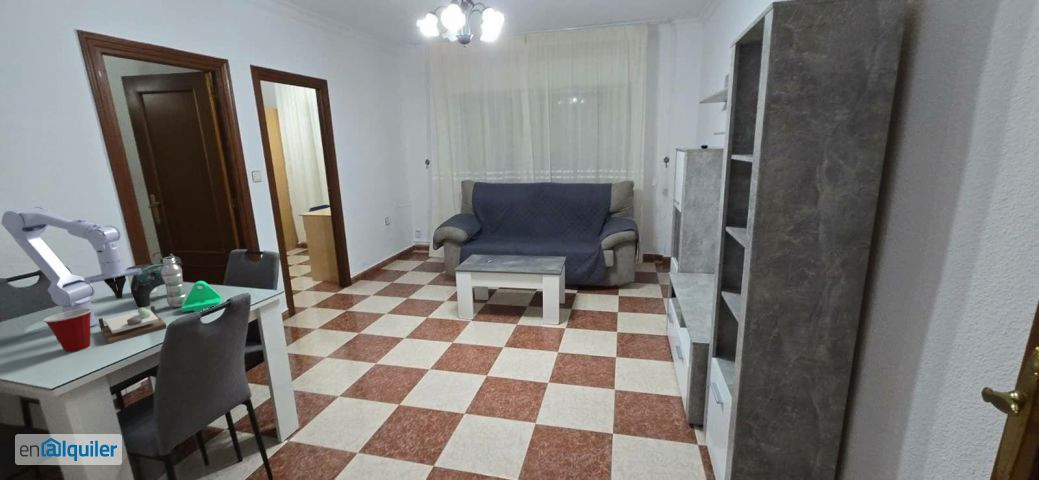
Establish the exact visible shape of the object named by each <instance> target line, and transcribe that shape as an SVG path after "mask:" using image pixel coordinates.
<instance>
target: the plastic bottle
mask: <svg viewBox="0 0 1039 480" xmlns="http://www.w3.org/2000/svg"><path fill="white" fill-rule="evenodd" d="M168 257H169V256H168ZM175 257H176V256H175ZM175 257H169V258H165V257H163V258H164V259H163V264H164V267H163V268H162V270H161V275H162V278H163V280H164V283H165V284H164V285H165V288H166V289H165V290H166V296H167V297H166V301H167V302H166V303H167V305H168V306H169V307H170V308H179V307H182V306H183V304H184V302H185V301H186V299H187V297H188V294H187V292H186V289H185V286H184V279H183V269H182V266H181V267H180V266H178V265H177V264H176V263H175V262H176V261H175Z"/></svg>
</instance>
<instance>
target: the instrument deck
mask: <svg viewBox="0 0 1039 480" xmlns="http://www.w3.org/2000/svg"><path fill="white" fill-rule="evenodd" d="M104 322H105V324H106V326H107V325H108V327H109V329H110V330H111V332H112V333H116V332H120V331H124V330H128V329H132V328H136V327H139V326H143V325H147V324H151V323H155V322H159V319H158V318H157V317H156V316H155V314H154V313H153V312H152V311H151V308H148V309H147V308H146V307H144V308H143V307H142V308H138V310H137V311H136V312H131V313H128V314H127V313H126V314H122V315H119V316H115V317H110V318H105V319H104Z"/></svg>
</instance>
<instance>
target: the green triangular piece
mask: <svg viewBox="0 0 1039 480" xmlns="http://www.w3.org/2000/svg"><path fill="white" fill-rule="evenodd" d="M199 287H202V288H199ZM187 296H188V297H187V299H186V301H185V302H184V304H183V306H181V310H182V311H181V312H190V311H193V312H194V311H199V312H202V311H201V310H203V309H207V308H209V309H210V308H213V307H212V306H215V307H217V306H216V305H218V304H220V305H221V303H222V301H223V298H222V296H221V295H220V294H219V293H218V292H217V291H216V290H215V289H214V288H213V287H211V286H210V285H209V284H208V283H207V282H206V281H204V280H198V281H196V282H195V283H194V284H193V286H192V287H191V290H190V291H189V293H188V294H187Z"/></svg>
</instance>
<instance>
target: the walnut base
mask: <svg viewBox="0 0 1039 480" xmlns="http://www.w3.org/2000/svg"><path fill="white" fill-rule="evenodd" d="M149 309H150V310H151V311H152V312H153V313H154V314H155V316H156V317H157V318H158V319H159V322H155V323H151V324H147V325H143V326H139V327H136V328H132V329H128V330H124V331H120V332H116V333H112V332H111V330H110V329H109V327H108V325H107V324H106V325H105V324H104V322H105V321H104V319H103V317H100V318H97V321H98V322H99V328H100V331H101V333H102V335H103V336H104V338H105V340H106V342H107V343H108V344H113V343H116V342H120V341H125V340H127V339H131V338H132V339H133V338H135V337H139V336H143V335H146V334H150V333H153V332H157V331H161V330H164V329H167V328H166V327H167V323H166V322H164V321H163V320H162V318H160V317H159V315H158V314H157V313H156V308H155V305H150V308H149Z"/></svg>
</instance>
